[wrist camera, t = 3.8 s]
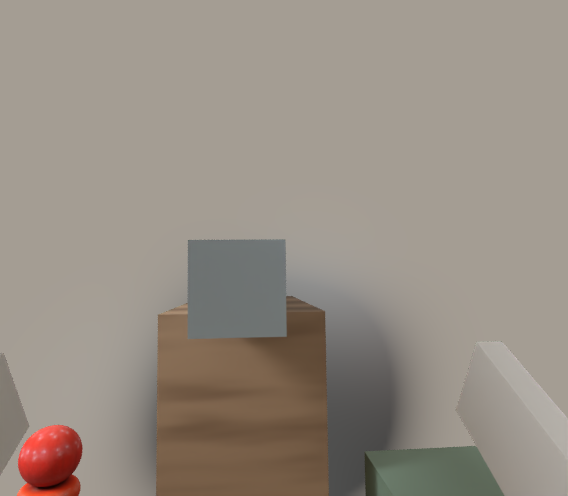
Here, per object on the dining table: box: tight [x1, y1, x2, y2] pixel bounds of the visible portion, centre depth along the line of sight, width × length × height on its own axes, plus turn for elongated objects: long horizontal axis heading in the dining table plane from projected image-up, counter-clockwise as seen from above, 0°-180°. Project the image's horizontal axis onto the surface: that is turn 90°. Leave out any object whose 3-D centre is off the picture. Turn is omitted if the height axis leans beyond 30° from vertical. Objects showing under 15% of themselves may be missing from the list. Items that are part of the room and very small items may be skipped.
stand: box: [156, 296, 329, 496], centre depth 33 cm, size 20×10×30 cm, turn 5°
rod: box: [188, 240, 287, 339], centre depth 29 cm, size 30×4×4 cm, turn 5°
